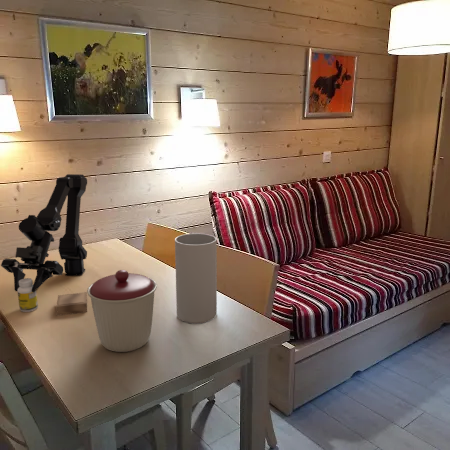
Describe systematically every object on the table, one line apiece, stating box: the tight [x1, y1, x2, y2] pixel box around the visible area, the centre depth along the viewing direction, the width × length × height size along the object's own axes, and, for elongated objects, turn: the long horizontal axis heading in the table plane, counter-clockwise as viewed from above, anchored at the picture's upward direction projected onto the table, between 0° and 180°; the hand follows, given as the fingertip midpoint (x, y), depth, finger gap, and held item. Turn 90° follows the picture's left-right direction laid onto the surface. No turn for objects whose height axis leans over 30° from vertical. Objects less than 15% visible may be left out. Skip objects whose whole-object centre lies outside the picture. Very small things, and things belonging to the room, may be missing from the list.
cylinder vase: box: [174, 232, 218, 324], centre depth 131 cm, size 12×12×25 cm
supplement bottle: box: [16, 277, 39, 313], centre depth 136 cm, size 5×5×10 cm
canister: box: [86, 269, 158, 353], centre depth 115 cm, size 18×18×21 cm
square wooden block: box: [55, 291, 88, 316], centre depth 138 cm, size 9×9×3 cm
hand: (24, 291), depth 135 cm, fingers closed on supplement bottle, 5 cm apart
